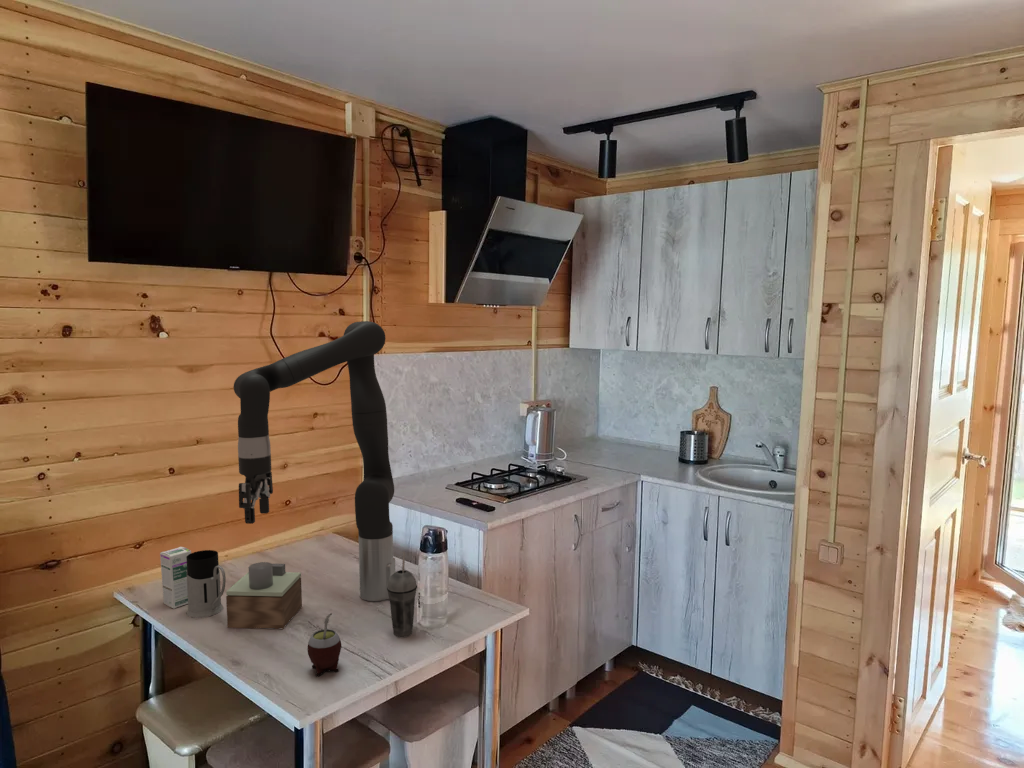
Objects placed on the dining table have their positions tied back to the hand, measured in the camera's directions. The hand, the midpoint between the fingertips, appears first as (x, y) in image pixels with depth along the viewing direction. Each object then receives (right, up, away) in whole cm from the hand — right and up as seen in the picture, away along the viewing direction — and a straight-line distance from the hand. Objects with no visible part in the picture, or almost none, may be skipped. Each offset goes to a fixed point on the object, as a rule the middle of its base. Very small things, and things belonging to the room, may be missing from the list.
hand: (257, 518), depth 169 cm
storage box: (0, -26, +5) cm, 27 cm away
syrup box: (-26, -26, +14) cm, 39 cm away
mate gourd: (+23, -29, -21) cm, 42 cm away
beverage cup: (+37, -28, -4) cm, 46 cm away
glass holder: (-15, -26, +8) cm, 31 cm away
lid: (0, -18, +5) cm, 19 cm away
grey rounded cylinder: (0, -17, +2) cm, 18 cm away
